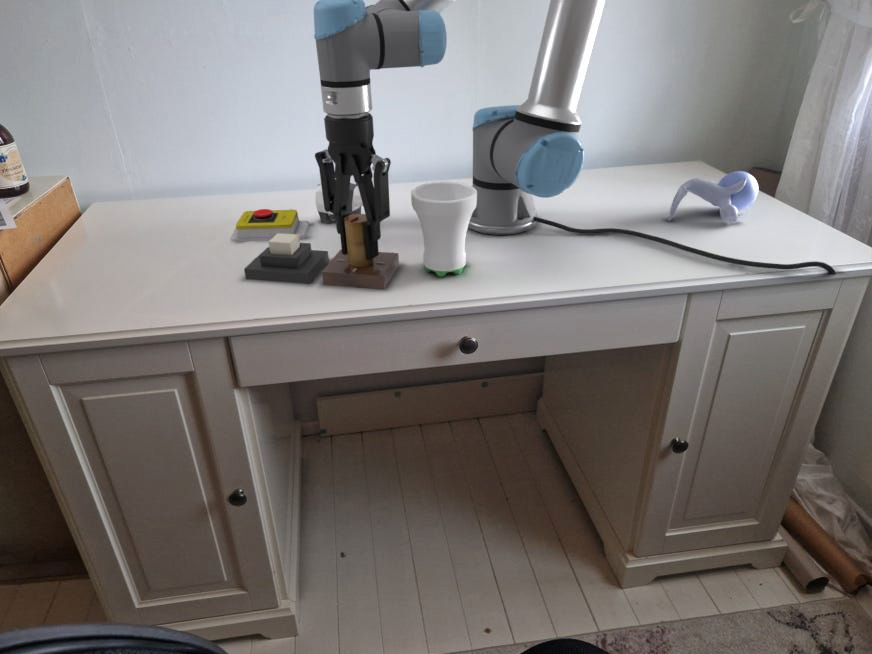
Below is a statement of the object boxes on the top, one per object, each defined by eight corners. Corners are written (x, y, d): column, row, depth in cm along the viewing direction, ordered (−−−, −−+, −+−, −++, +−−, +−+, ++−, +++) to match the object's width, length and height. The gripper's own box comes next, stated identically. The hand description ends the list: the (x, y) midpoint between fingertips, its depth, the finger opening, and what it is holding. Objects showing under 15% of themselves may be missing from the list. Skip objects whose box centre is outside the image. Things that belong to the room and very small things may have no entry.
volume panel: (399, 265, 115) (398, 252, 113) (384, 289, 107) (383, 275, 105) (341, 261, 117) (340, 248, 115) (323, 285, 109) (321, 270, 107)
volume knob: (358, 255, 113) (354, 210, 108) (378, 259, 111) (375, 214, 106) (343, 264, 110) (338, 218, 105) (363, 268, 108) (360, 222, 103)
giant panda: (314, 221, 135) (309, 177, 130) (329, 213, 139) (324, 170, 134) (371, 232, 129) (368, 186, 124) (386, 223, 133) (383, 178, 128)
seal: (761, 232, 133) (679, 240, 128) (733, 192, 140) (653, 198, 135) (785, 202, 126) (699, 209, 121) (754, 161, 133) (671, 166, 128)
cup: (480, 258, 117) (482, 182, 109) (470, 284, 108) (471, 203, 100) (421, 254, 119) (419, 179, 111) (406, 279, 110) (403, 199, 102)
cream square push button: (300, 247, 114) (298, 234, 112) (291, 256, 110) (289, 242, 109) (279, 246, 114) (277, 233, 113) (270, 255, 111) (268, 241, 110)
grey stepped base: (329, 260, 117) (326, 240, 115) (309, 284, 109) (306, 262, 107) (269, 256, 119) (265, 236, 117) (245, 279, 111) (241, 258, 109)
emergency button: (236, 205, 132) (307, 203, 132) (239, 225, 134) (310, 223, 134) (225, 220, 124) (301, 218, 124) (229, 241, 126) (304, 239, 126)
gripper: (288, 113, 98) (307, 253, 111) (381, 123, 90) (390, 272, 103) (318, 104, 103) (333, 238, 116) (409, 113, 96) (414, 256, 108)
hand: (360, 254), depth 109 cm, fingers closed on volume knob, 4 cm apart
